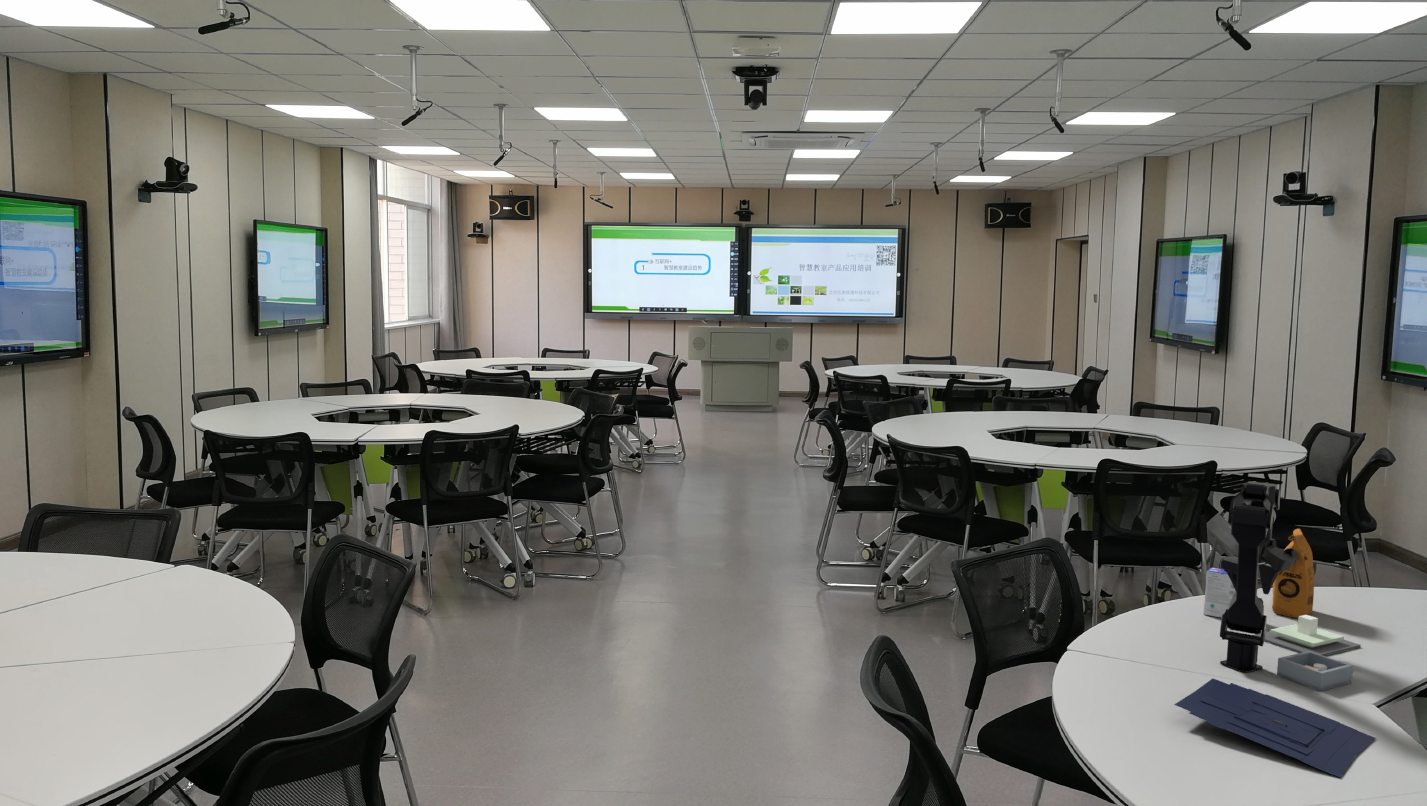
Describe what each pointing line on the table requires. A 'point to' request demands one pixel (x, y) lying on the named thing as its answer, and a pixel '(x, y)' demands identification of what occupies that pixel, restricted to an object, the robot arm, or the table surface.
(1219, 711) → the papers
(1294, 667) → the storage box
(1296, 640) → the lid
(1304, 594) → the coffee package
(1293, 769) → the table surface
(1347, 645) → the rubber mat
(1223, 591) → the ink cartridge box
